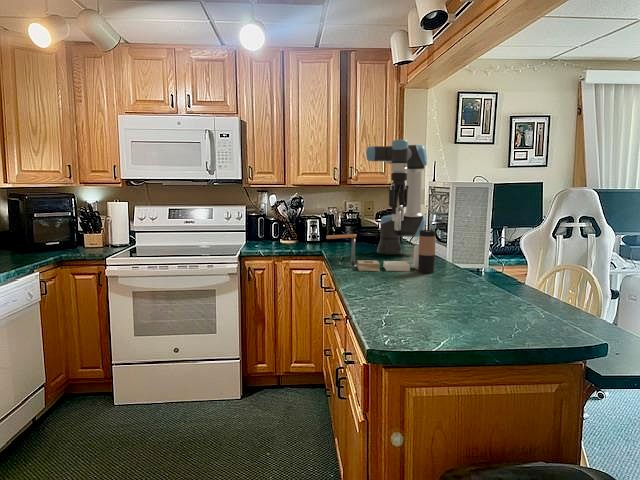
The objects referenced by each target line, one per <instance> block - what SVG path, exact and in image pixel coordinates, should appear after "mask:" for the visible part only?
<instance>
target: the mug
mask: <svg viewBox="0 0 640 480" xmlns="http://www.w3.org/2000/svg"><path fill="white" fill-rule="evenodd" d="M413 267H414V269H416V270H419V244H418V245H417V244H416V245H414V246H413Z"/></svg>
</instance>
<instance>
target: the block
mask: <svg viewBox="0 0 640 480" xmlns="http://www.w3.org/2000/svg"><path fill="white" fill-rule="evenodd" d="M356 262H357V264H356V265H357V270H358V271H359V272H380V270H381V268H380V267H381V264H380V262H379V261H378V260H371V259H370V260H367V259H366V260H362V259H361V260H356Z"/></svg>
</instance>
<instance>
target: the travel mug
mask: <svg viewBox="0 0 640 480" xmlns="http://www.w3.org/2000/svg"><path fill="white" fill-rule="evenodd" d="M436 233H437V231H435V230H432V229H424V230H420V234H419V235H420V236H419V237H418V239H419V240H418V245H419V269H418V273H420V274H423V275H424V274H428V275H429V274H430V275H431V274H434V273H435V272H434V271H435V258H436V237H437V236H436Z"/></svg>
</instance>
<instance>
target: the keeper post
mask: <svg viewBox="0 0 640 480" xmlns="http://www.w3.org/2000/svg"><path fill="white" fill-rule="evenodd" d="M350 252H351V258H350V261H351V262H350V264H349V265H348V267H350V268H356V267H357V264H356V237H351V251H350Z"/></svg>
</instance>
